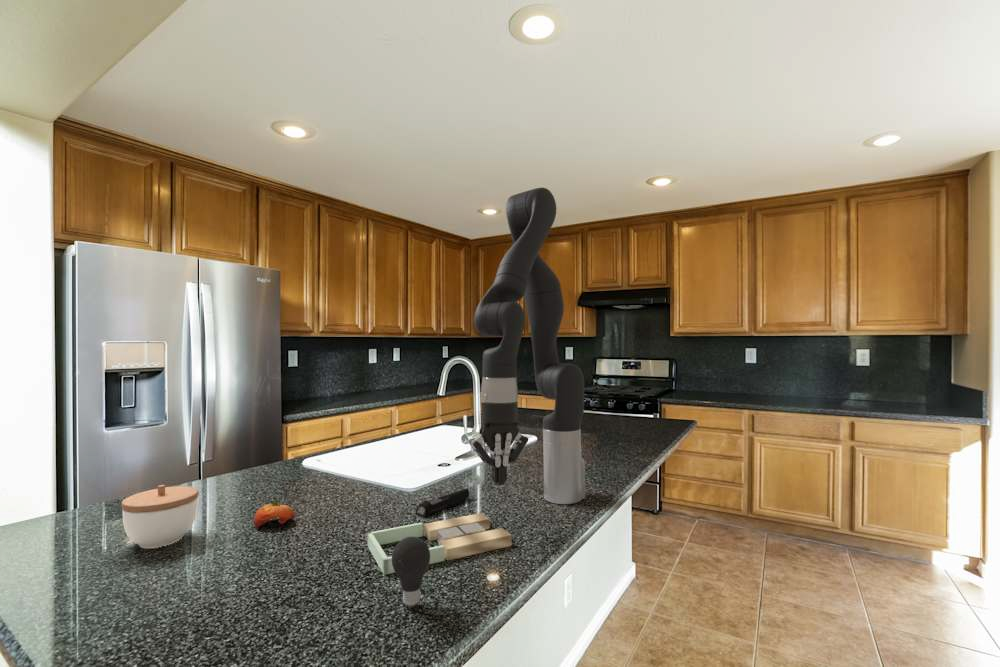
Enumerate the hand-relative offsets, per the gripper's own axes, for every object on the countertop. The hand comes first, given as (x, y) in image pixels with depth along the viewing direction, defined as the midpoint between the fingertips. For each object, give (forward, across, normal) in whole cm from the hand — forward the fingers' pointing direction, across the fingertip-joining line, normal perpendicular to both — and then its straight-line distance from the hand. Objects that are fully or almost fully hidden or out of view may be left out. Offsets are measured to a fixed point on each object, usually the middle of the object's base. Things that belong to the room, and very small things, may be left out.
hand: (499, 484), depth 99 cm
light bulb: (+10, +24, +18) cm, 32 cm away
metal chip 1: (+10, +11, +1) cm, 15 cm away
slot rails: (+10, +7, 0) cm, 12 cm away
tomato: (+11, +41, -27) cm, 50 cm away
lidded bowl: (+11, +61, -28) cm, 68 cm away
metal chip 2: (+10, +6, +1) cm, 12 cm away
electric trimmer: (+10, +5, -20) cm, 23 cm away
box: (+10, +20, 0) cm, 22 cm away
